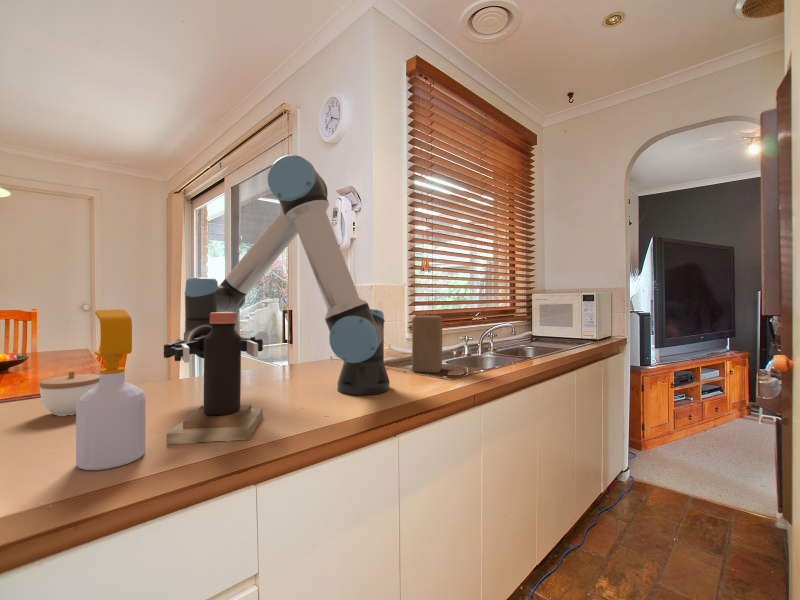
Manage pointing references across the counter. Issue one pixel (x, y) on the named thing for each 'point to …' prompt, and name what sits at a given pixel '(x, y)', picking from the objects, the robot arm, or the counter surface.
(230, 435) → the base
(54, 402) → the lidded jar
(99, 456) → the soap bottle
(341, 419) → the counter surface
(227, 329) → the vinegar
